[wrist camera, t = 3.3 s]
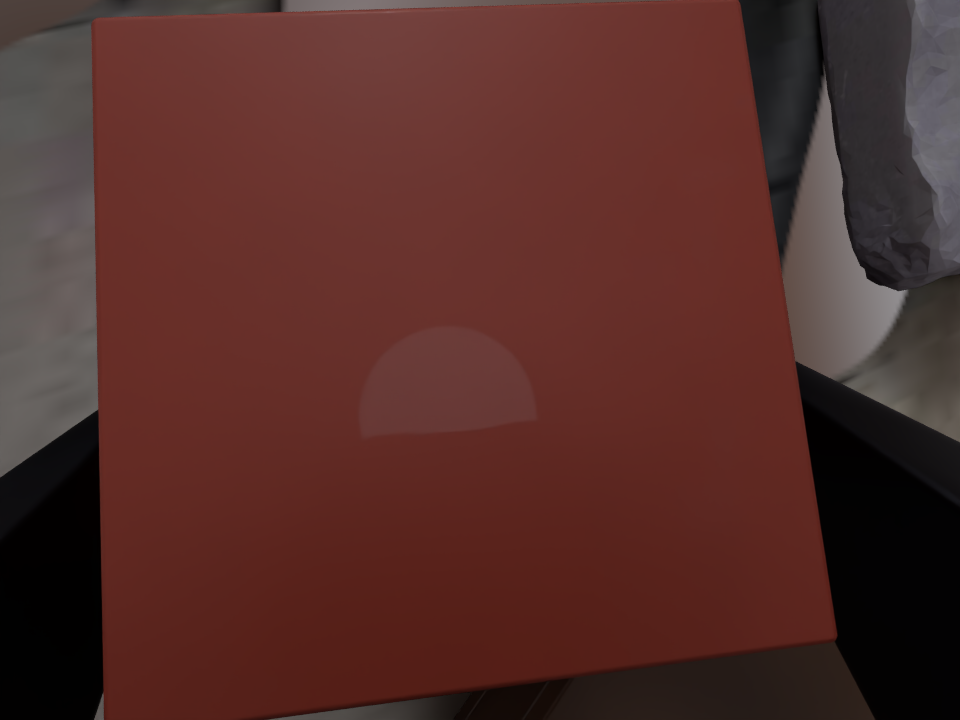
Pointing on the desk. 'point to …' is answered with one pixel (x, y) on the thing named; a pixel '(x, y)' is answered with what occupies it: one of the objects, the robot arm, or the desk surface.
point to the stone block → (897, 133)
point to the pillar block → (438, 356)
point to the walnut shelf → (691, 691)
